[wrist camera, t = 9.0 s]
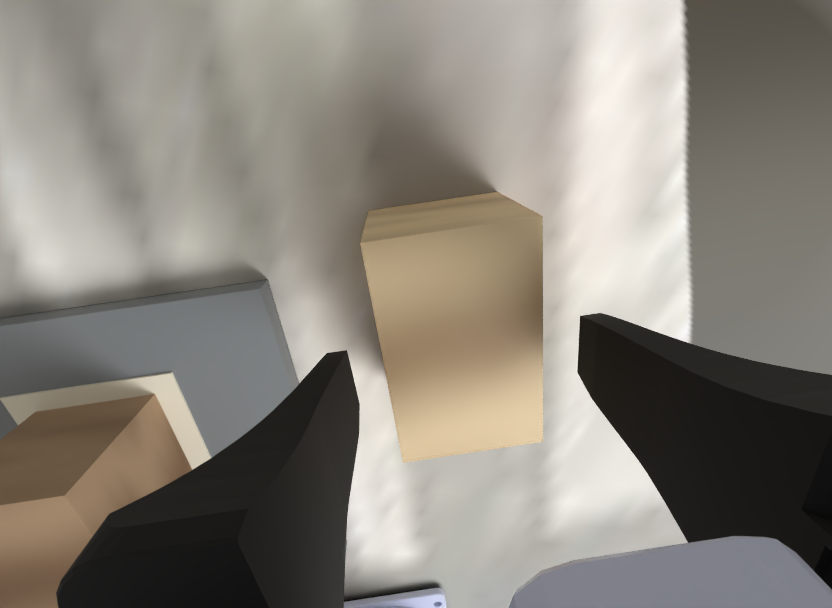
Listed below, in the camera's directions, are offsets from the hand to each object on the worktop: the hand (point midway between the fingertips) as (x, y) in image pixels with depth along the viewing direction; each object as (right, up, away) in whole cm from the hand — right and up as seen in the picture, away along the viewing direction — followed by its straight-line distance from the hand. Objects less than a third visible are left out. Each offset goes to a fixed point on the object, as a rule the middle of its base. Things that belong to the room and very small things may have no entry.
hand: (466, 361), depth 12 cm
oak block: (0, +2, +5) cm, 5 cm away
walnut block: (-14, -6, +6) cm, 17 cm away
